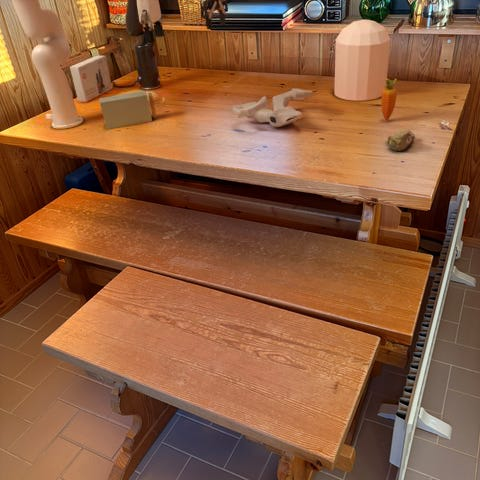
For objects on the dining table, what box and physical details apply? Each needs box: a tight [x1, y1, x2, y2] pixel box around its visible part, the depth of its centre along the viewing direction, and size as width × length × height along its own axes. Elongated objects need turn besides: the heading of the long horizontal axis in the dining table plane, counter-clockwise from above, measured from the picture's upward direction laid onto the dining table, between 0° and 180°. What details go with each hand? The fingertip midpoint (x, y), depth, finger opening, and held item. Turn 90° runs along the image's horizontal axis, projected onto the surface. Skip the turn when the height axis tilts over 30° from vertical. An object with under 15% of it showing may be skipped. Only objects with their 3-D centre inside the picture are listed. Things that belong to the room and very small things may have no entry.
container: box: [333, 19, 391, 102], centre depth 186 cm, size 21×21×28 cm
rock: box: [387, 129, 416, 152], centre depth 146 cm, size 11×6×10 cm
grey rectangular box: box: [98, 90, 153, 130], centre depth 184 cm, size 18×6×11 cm, turn 106°
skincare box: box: [69, 54, 113, 103], centre depth 218 cm, size 21×6×16 cm, turn 158°
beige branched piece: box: [231, 88, 314, 128], centre depth 171 cm, size 28×26×12 cm
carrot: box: [380, 78, 398, 122], centre depth 161 cm, size 5×5×15 cm
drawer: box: [147, 92, 168, 119], centre depth 185 cm, size 22×5×9 cm, turn 106°
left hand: (155, 39), depth 166 cm, fingers open, 9 cm apart
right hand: (216, 26), depth 186 cm, fingers open, 8 cm apart
